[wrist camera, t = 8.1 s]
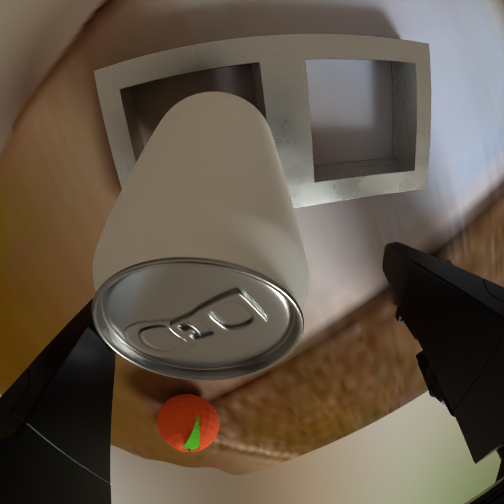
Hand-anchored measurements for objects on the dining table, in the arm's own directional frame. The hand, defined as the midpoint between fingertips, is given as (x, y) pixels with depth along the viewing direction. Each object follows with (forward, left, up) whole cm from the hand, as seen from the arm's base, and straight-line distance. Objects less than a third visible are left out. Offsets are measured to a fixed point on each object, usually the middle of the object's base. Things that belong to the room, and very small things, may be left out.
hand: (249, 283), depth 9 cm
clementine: (+9, +25, -13) cm, 30 cm away
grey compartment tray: (-4, -3, -13) cm, 14 cm away
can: (0, -2, -10) cm, 10 cm away
